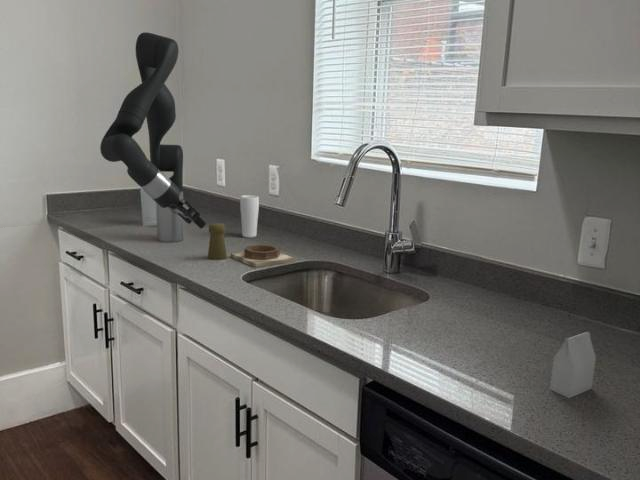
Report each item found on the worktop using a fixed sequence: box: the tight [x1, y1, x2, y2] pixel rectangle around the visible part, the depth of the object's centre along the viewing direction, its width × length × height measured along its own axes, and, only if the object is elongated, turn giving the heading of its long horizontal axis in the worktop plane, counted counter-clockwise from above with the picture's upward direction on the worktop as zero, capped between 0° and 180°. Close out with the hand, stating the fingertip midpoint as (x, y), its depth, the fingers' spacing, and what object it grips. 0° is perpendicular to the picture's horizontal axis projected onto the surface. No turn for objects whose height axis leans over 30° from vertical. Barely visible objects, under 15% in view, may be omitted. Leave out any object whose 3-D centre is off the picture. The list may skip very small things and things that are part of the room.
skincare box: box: [139, 187, 157, 227], centre depth 228 cm, size 8×6×15 cm
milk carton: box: [549, 331, 597, 399], centre depth 101 cm, size 4×7×10 cm, turn 125°
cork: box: [207, 222, 228, 261], centre depth 182 cm, size 6×6×11 cm
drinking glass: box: [239, 194, 260, 239], centre depth 213 cm, size 7×7×15 cm
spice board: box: [230, 244, 295, 269], centre depth 182 cm, size 15×14×4 cm
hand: (197, 223), depth 176 cm, fingers open, 8 cm apart
